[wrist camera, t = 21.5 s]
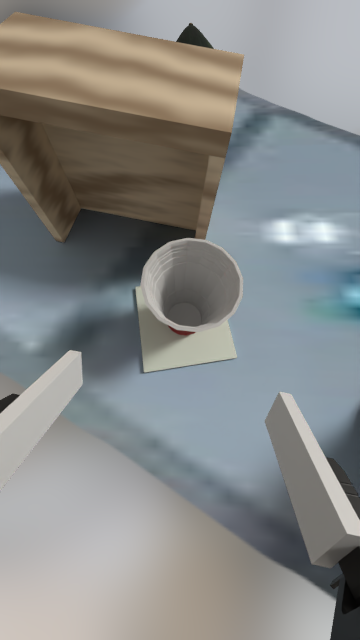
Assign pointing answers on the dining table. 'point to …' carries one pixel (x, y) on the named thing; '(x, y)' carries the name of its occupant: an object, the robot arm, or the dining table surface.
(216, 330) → the mat
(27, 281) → the dining table surface
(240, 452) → the dining table surface
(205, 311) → the plastic cup
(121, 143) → the oak cabinet
